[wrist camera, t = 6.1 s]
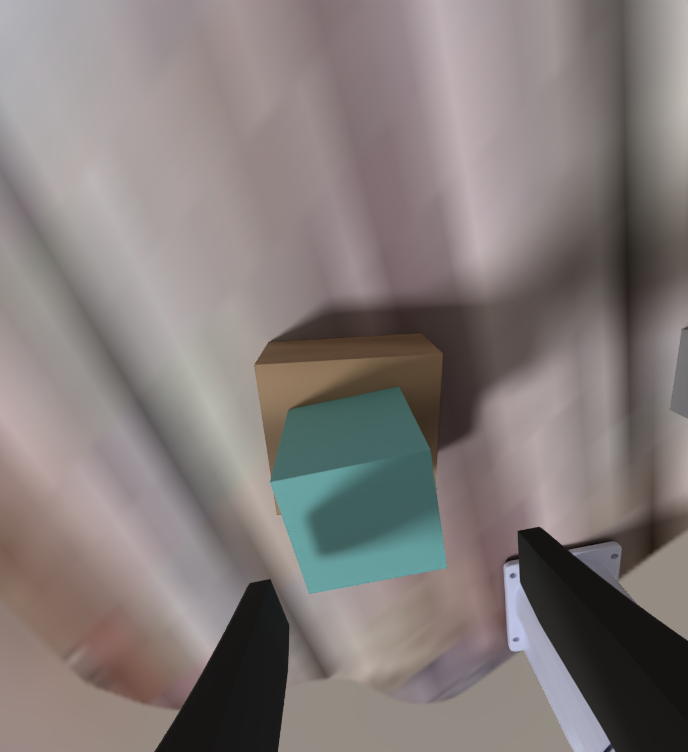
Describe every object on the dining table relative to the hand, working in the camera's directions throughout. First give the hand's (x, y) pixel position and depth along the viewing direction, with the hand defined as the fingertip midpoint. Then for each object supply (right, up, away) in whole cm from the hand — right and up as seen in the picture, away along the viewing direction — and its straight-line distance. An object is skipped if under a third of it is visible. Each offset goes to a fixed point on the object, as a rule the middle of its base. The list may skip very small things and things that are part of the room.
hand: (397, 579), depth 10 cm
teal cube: (-1, +3, +6) cm, 7 cm away
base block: (-1, +4, +10) cm, 11 cm away
